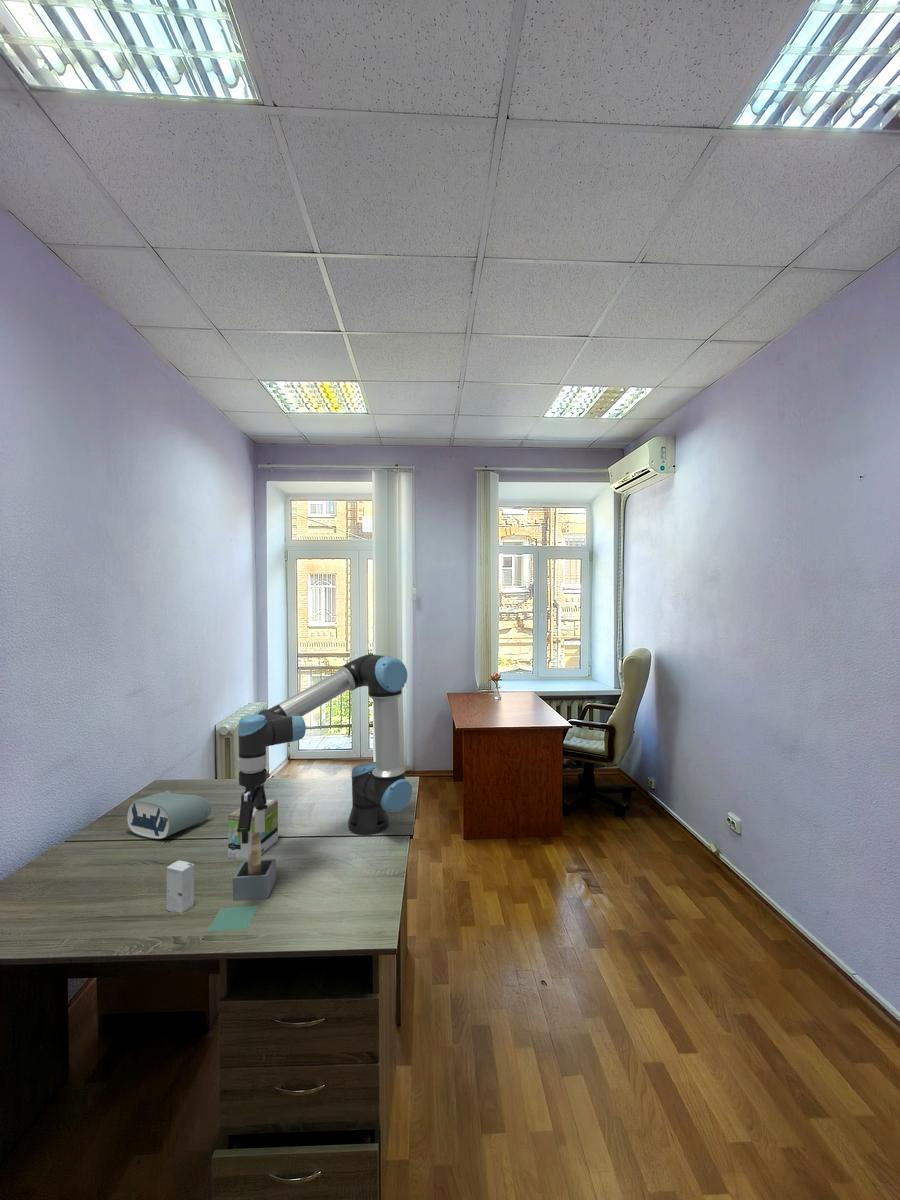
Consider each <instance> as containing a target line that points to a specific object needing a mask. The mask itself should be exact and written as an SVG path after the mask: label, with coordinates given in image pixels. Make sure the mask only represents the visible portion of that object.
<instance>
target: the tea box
mask: <svg viewBox="0 0 900 1200" xmlns="http://www.w3.org/2000/svg"><path fill="white" fill-rule="evenodd" d="M266 801H267V803H266V804H265V805H267V809H263V810H265V831H264V832H255V810H258V809H256V808H255V807H254V809H253V815H252V821H251V826H250V829H251V834H252V833H260V834H261V855H262V854H263V853H265V851H267V850H268V849H269V848H270V847H272V846H273V845H275V843H276V842H278V840H279V831H278V830H279V828H278V827H279V821H278V820H279V814H278V812H279V811H278V810H279V808H278V807H279V805H278V804H279V803H278V800H277V799H267V798H266ZM240 808H241V806H240V807H238V808H237V809H236V810H234V811H232V812H231V813H229V814H228V819H227V820H228V821H227V822H228V826H227V828H228V829H227V830H228V832H227V834H228V835H227V837H228V838H227V840H228V841H227V842H228V843H227V845H228V848H227V850H228V851H227V852H228V853H227V854H228V855H227V858H228V859H243V860H248V854H241V832H237V829H238V824H239V816H240Z"/></svg>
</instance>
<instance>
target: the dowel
mask: <svg viewBox="0 0 900 1200" xmlns="http://www.w3.org/2000/svg"><path fill="white" fill-rule="evenodd" d="M251 844H252V853H251V854H248V859H247V861H248V876H254V875H262V870H261V860H262V854H261V834H260V833H252V834H251Z"/></svg>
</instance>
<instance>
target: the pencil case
mask: <svg viewBox="0 0 900 1200" xmlns="http://www.w3.org/2000/svg"><path fill="white" fill-rule="evenodd" d="M211 812H212V807H211V804H210V802H209V801H208V800H207V799H206V798H205V797H204V796H201V795H195V794H184V793H183V794H180V793H172V792H171V791H170V790H166V791H161V792H158V793H155V794H151V795H148V796H145V797H142V798H139V799H136V800H134V801H131V802H130V803H129V805H128V806H127V808H126V812H125V813H126V815H125V820H126V825H127V827H128V829H129V830H130V831H131V832H132V834H134V835H136V836H140V837H144V838H148V839H153V840H154V839H155V840H162V839H165V838H167V837H169V836H171V835H174V834H177V833H178V832H180V831H184V830H186V829H189V828H191V827H193V826H196V825H198V824H200V823H202V822H203V821H205V820H207V819H208V818H209V816H210V814H211Z"/></svg>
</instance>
